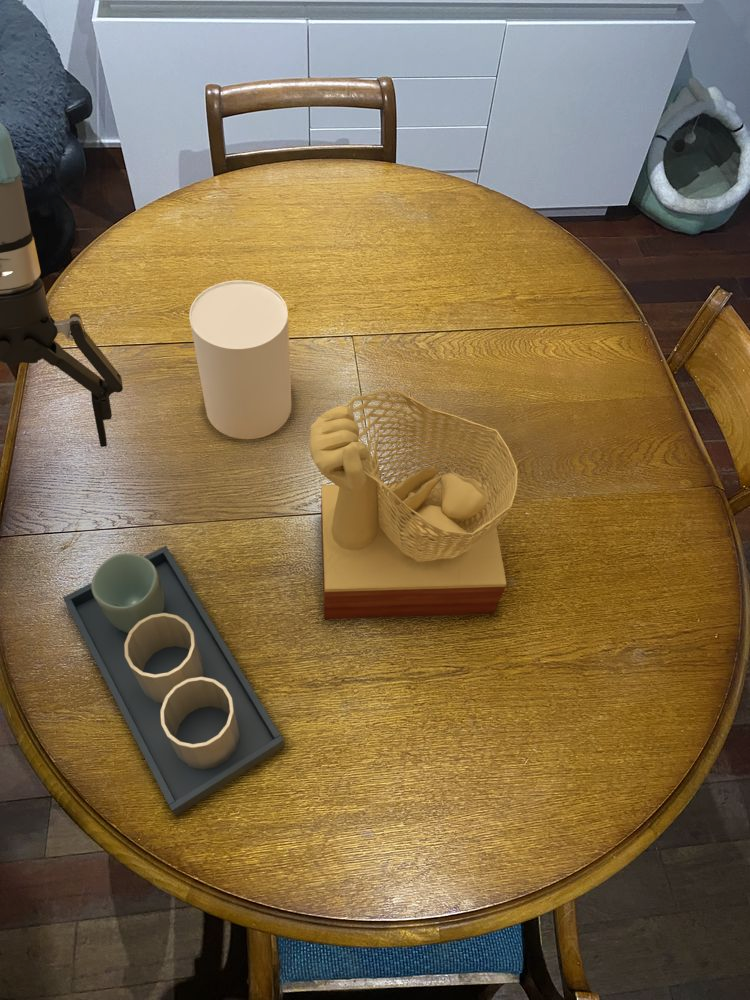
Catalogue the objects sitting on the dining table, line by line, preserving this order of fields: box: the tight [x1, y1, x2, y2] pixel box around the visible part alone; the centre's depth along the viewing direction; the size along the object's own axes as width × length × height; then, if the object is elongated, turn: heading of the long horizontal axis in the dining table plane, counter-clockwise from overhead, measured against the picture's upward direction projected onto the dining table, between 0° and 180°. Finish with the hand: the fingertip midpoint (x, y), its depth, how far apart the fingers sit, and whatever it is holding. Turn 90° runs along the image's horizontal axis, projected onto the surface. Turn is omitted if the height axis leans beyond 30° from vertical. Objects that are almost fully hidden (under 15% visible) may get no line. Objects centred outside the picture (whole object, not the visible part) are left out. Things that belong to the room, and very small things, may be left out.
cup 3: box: [160, 677, 240, 770], centre depth 92 cm, size 8×8×10 cm
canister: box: [188, 279, 292, 440], centre depth 117 cm, size 14×14×20 cm
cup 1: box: [91, 552, 165, 634], centre depth 100 cm, size 8×8×10 cm
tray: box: [62, 545, 285, 817], centre depth 99 cm, size 32×15×3 cm, turn 34°
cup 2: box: [124, 613, 204, 703], centre depth 96 cm, size 8×8×10 cm
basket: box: [308, 389, 519, 620], centre depth 97 cm, size 25×18×35 cm
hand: (44, 447), depth 95 cm, fingers open, 13 cm apart
